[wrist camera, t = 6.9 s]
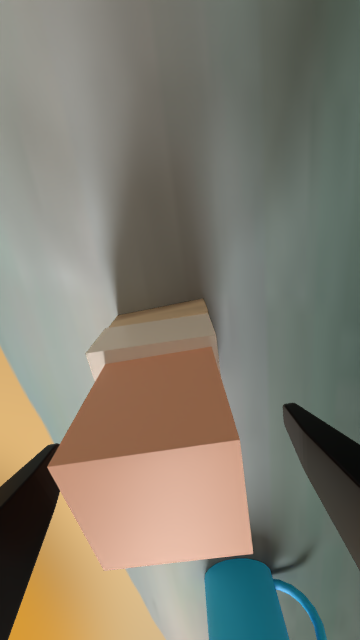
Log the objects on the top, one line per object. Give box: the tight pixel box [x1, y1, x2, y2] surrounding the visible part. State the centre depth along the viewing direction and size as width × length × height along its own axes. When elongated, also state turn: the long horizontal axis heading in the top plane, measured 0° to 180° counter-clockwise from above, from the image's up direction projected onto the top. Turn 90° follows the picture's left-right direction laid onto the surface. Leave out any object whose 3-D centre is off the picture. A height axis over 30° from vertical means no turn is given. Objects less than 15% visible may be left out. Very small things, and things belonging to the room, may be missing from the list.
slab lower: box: [109, 299, 209, 328], centre depth 15 cm, size 6×6×3 cm
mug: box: [205, 558, 327, 640], centre depth 24 cm, size 12×8×8 cm
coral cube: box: [47, 347, 253, 570], centre depth 9 cm, size 5×5×5 cm
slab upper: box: [85, 313, 221, 381], centre depth 13 cm, size 6×6×3 cm
